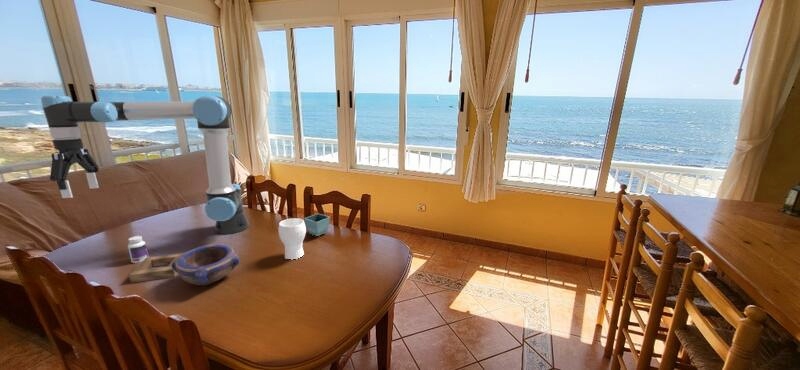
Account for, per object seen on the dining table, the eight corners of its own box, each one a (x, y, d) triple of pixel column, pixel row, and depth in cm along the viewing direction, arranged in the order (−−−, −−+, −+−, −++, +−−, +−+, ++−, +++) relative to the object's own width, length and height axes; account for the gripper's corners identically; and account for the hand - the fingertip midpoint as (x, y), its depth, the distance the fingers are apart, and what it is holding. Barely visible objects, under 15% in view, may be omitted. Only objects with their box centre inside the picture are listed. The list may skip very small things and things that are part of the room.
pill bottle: (152, 258, 122) (147, 236, 119) (137, 264, 117) (131, 241, 115) (143, 255, 124) (138, 234, 121) (128, 261, 119) (122, 239, 116)
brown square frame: (186, 259, 121) (185, 253, 120) (174, 276, 109) (173, 269, 108) (147, 264, 117) (146, 257, 116) (130, 282, 105) (129, 275, 104)
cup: (312, 255, 126) (310, 222, 122) (288, 264, 118) (285, 229, 114) (299, 247, 133) (297, 215, 129) (276, 255, 125) (273, 222, 121)
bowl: (195, 300, 96) (190, 272, 93) (169, 283, 105) (164, 257, 103) (248, 275, 111) (244, 250, 108) (221, 261, 120) (218, 238, 117)
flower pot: (331, 233, 147) (330, 216, 145) (317, 240, 140) (316, 222, 138) (318, 229, 152) (317, 213, 150) (304, 235, 145) (303, 218, 143)
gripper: (80, 135, 123) (93, 185, 128) (22, 142, 99) (41, 202, 105) (102, 135, 125) (114, 184, 130) (50, 142, 101) (67, 201, 107)
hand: (81, 192), depth 117 cm, fingers open, 13 cm apart
